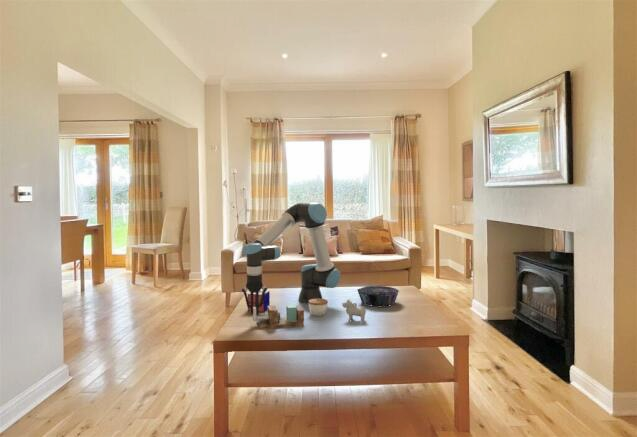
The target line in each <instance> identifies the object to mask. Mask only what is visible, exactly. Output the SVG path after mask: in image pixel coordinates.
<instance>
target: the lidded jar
mask: <svg viewBox="0 0 637 437" xmlns="http://www.w3.org/2000/svg"><path fill="white" fill-rule="evenodd" d="M328 305H329V304H328V300H327V299H326V298H322V299H319V298H317V299H311V300H309V303H308V309H309V310H308V311H310V313H311V314H312V316H314V317H322V316H324V315H325V313H326V312H327V310H328Z"/></svg>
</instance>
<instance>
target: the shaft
mask: <svg viewBox="0 0 637 437" xmlns="http://www.w3.org/2000/svg"><path fill="white" fill-rule="evenodd" d="M280 318H281V312H278V321H280ZM267 321H269V313H268V312H267V313H258V314H256V321H255V322H256V323H258V322H267Z"/></svg>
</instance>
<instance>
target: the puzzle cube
mask: <svg viewBox="0 0 637 437" xmlns="http://www.w3.org/2000/svg"><path fill="white" fill-rule="evenodd" d="M262 291H263V290H260V291H259V295H258V299H259V303H260V299H261V295H262ZM247 297H248V301H249V304H250V305H251V293H250V292H249V293H247ZM270 297H271V296H270V291H269V290H266V292H265V295H264V300H263V304H262V306H261V307H259V308H258V313H264V312H266V311H268V306H271V305H270ZM253 307H256V293H253ZM247 312H251V308H249V307H247Z"/></svg>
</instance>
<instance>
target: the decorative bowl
mask: <svg viewBox="0 0 637 437" xmlns="http://www.w3.org/2000/svg"><path fill="white" fill-rule="evenodd" d="M356 291H357V292H358V295H359V299H360V301H361V303H362V302H363V303H362V304H363V305H365V304H367V305H366V306H368V305H372V306H371V307H373V306H389V305H392V304H393V303H394V302H395V303H396V300H397V297H398V295H399V293H400V290H399V289H397V288H395V287H391V286H384V285H367V286H363V287H360V288H358V289H357V290H356ZM395 303H394V304H395ZM394 304H393V305H394ZM393 305H392V306H393Z"/></svg>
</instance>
